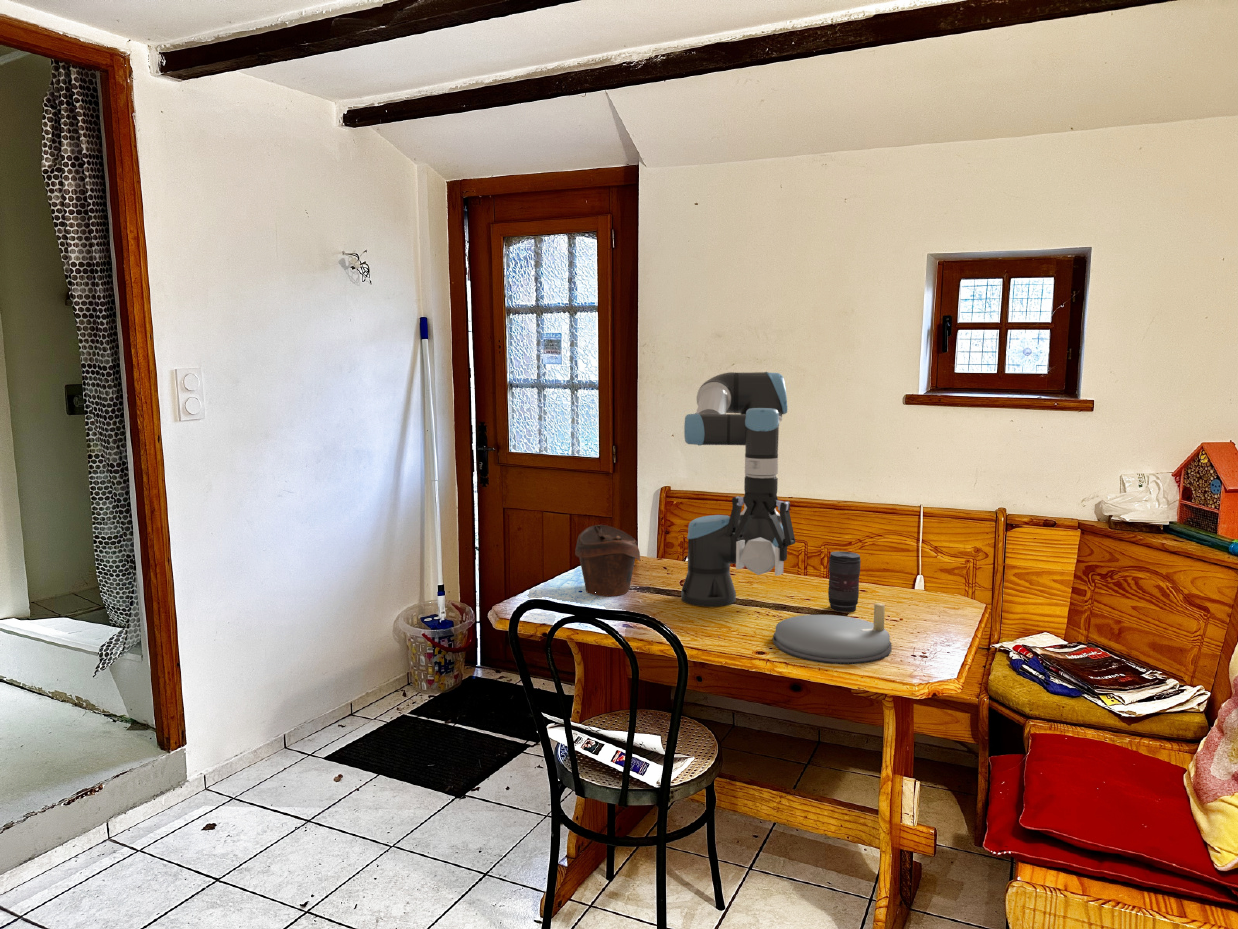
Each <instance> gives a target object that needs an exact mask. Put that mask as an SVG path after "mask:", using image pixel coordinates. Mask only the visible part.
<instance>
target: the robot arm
mask: <svg viewBox="0 0 1238 929" xmlns="http://www.w3.org/2000/svg"><path fill="white" fill-rule="evenodd" d="M787 396H788V395H787V388H786V382H785V378H784V376H783V375H782V374H781V373H780V372H779V373H778V372H768V371H765V372H763V371H762V372H761V371H760V372H759V371H758V372H757V371H755V372H734V371H733V372H731V371H730V372H729V371H728V372H724V373H721V374H717V375H714V376H713V377H710V378H709V379H708V380H706V381H704V383H702V384H701V385H700V387H699V389H698V391H697V394H696V404H697V409H696V412H695V413H687V414H685V417H684V423H683V424H684V426H683V427H684V428H683V430H684V431H683V433H684V442H685V443H686V444H688V445H697V446H745V450H744V451H745V454H744V483H743V485H744V487H743V488H744V489H743V491H744V496H740V495H737V496H734V497H731V505H732V507H731V512H730V515H727V514H714V515H705V516H700V517H697V518H695V519H693V520H691V521H690V522H689V523H688V530H687V532H688V533H687V537H686V539H688V540H687V573H686V576H685V578H684V582H683V585H682V587H681V588H682V589H681V591H680V592H681V593H680V594H681V595H680V596H681V598H680V599H681V600H682V602H684V603H686V604H689V605H692V606H696V607H712V608H713V607H715V608H716V607H724V606H728V605H732V604H734V603H735V602H736V601H737V600H736V599H737V592H736V588H735V585H734V582H733V579H732V576H731V565H735V569H736V570H740V569H743V568H745V565H744V564H743V563H742V562H741V557H742V549H743V548H744V546H745V545H746V543H747V542H748V541H749V540H752V539H756V538H759V537H761V538H763V539H766V540H768V541H770V542H771V543H772V544H773V545H774V546H775V566H774V576H776V577H777V576H780V575H784V562H785V561H787V559H788V547H789V546H792V545H795V544H796V538H795V532H794V528H793V522H792V519H791V514H790V508H791V503H790V501H788V500H786V501H783V500H779V499H778V496H777V495H778V486H779V485H778V481H779V480H778V477H777V475H778V474H779V433H780V430H779V429H780V427H779V426H780V422H782V420H783V415H786V414H787V413H788V410H789V409H788V397H787ZM743 506H744V508H743ZM777 507H778V508H777ZM742 508H743V510H742ZM777 510H778V511H779V512H778V511H777Z"/></svg>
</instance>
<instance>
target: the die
mask: <svg viewBox="0 0 1238 929" xmlns="http://www.w3.org/2000/svg"><path fill="white" fill-rule="evenodd" d="M741 562H742V563H743V564H744V567H745V568H746V569H747V570H748V571H750V572H751V573H754V574H755V575H757V576H760V575H763V574H767V573H769V572H771V571H772V570H773V569H774V568H775V546H774V545H773V544H772V543H771V542H770V541H768V540H766V539H763V538H761V537H759V538H756V539H752V540H749V541H748V542H747V543H746V545H745V546H744V548H743V549H742V557H741Z"/></svg>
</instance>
